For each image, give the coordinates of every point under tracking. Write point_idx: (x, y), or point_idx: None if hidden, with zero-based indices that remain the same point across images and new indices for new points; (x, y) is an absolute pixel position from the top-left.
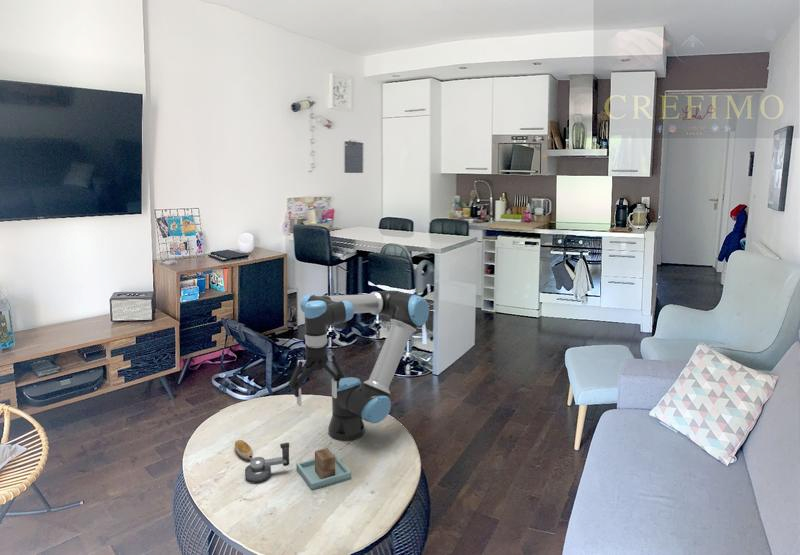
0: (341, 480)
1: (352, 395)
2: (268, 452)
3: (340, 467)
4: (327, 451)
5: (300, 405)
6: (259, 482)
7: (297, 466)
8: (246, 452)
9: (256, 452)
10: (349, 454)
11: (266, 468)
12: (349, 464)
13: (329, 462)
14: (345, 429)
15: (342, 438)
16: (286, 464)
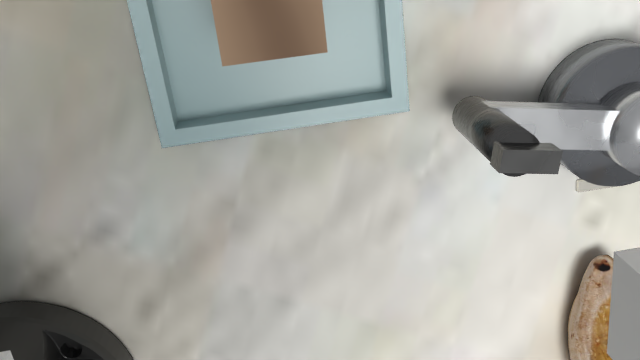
0: None
1: None
2: (483, 308)
3: (150, 2)
4: (235, 12)
5: (634, 253)
6: (620, 39)
7: (406, 89)
8: None
9: (534, 324)
10: (61, 158)
11: None
12: (83, 48)
13: None
14: (34, 356)
15: (72, 318)
16: (478, 97)
